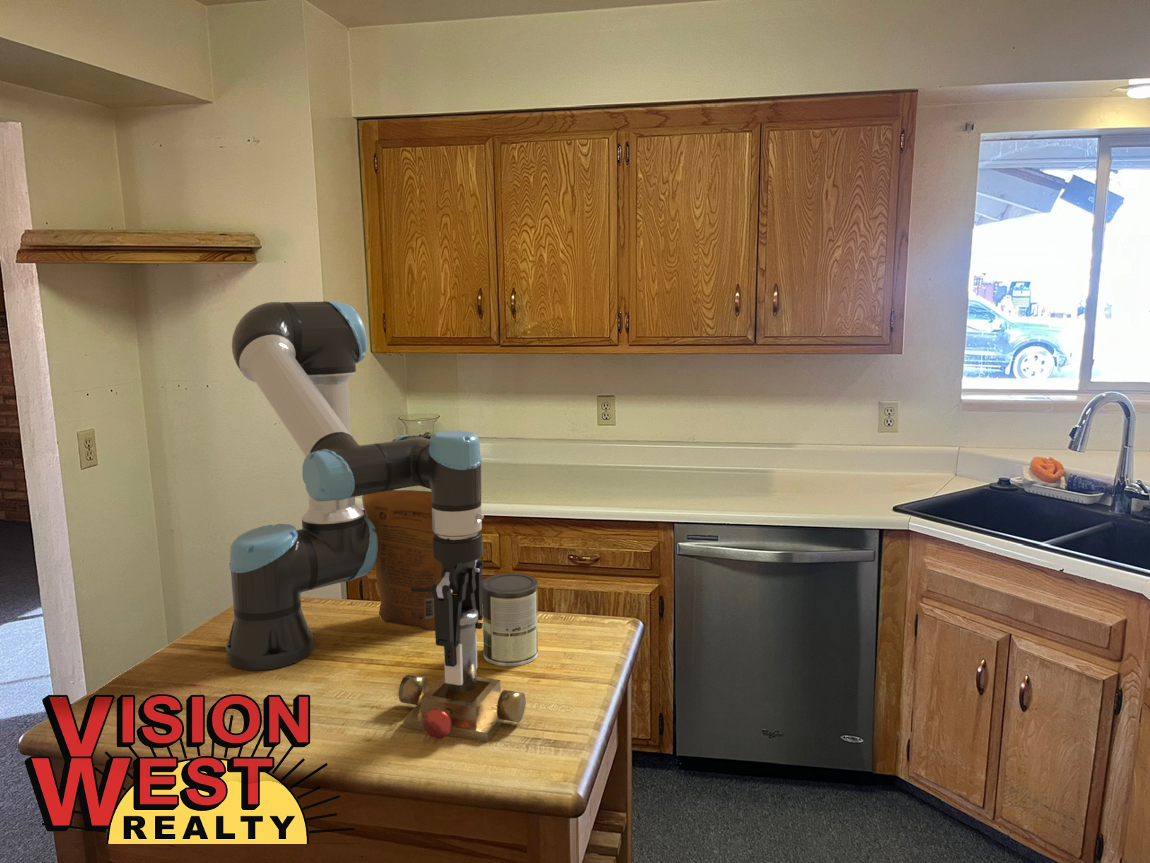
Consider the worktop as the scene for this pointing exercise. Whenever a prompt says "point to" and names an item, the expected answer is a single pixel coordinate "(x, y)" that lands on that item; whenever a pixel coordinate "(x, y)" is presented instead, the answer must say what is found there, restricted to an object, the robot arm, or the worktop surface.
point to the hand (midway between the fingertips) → (461, 675)
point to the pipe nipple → (467, 650)
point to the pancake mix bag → (404, 556)
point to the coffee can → (510, 619)
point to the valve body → (460, 708)
